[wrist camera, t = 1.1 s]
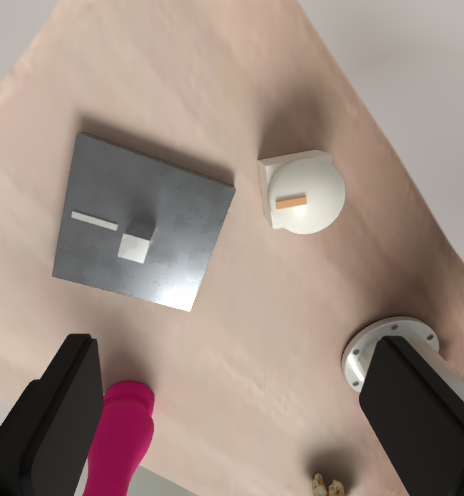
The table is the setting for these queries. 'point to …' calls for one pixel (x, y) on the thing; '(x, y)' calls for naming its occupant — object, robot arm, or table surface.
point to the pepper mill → (120, 439)
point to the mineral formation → (334, 492)
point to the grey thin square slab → (138, 223)
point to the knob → (301, 191)
